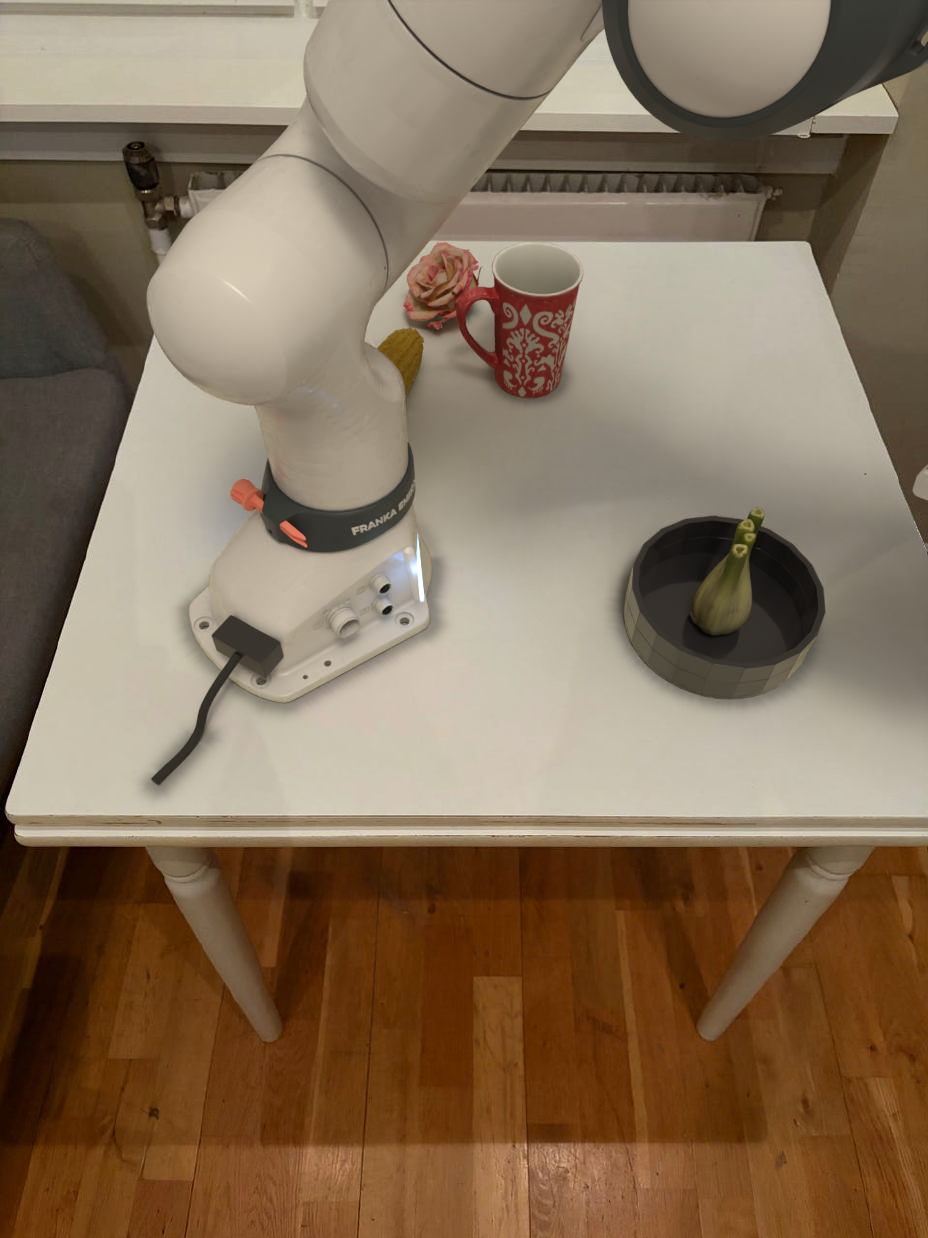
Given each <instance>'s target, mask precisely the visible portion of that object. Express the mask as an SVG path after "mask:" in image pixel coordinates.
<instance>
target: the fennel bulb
mask: <svg viewBox="0 0 928 1238" xmlns="http://www.w3.org/2000/svg"><path fill="white" fill-rule="evenodd" d="M765 518H766V512H765V510H764V509H763V508H762V507H760V506H756V507H754V508H752V509H751V510H750V511H749V513H748V515H747V519H746V518H745V519H743V520H744V521H742V522H741V523H740V524H738V526H737V529H736V533H735V537H734V540H733V544H732V547H731V550H730V553H729V554H728V555H727V556H726V557H725V558H724V559H723V560H722V561H721V562H720V563H719V564H718V565H717V566H716V567H715V568H714V569H713V570H712V571H711V573H710V574H709V575H708V576H707V577H706V579H705V580H704V581H703V582H702V584H701V585H700V587H699V588H698V590H697V591H696V594H695V596H694V598H693V602H692V603H691V606H690V616H691V619H692V621H693V622H694V623H695V624H696V625H697V626H698V627H699V628H700V629H701V630H702V631H703V632H704V633H707V634H709V635H712V636H717V635H721V634H722V635H726V634H730V633H732V632H735V631H737V630H738V629H740V628H741V627H742V626H743V625H744V623H745V622H746V621H747V619H748V617H749V615H750V611H751V605H752V590H751V581H750V572H749V556H750V552H751V549H752V547H753V544H754V542H755V540H756V536H757V534H758V531H759V529H760V527H761V526H762V525H763V522H764V520H765Z"/></svg>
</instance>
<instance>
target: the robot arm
mask: <svg viewBox="0 0 928 1238" xmlns="http://www.w3.org/2000/svg"><path fill="white" fill-rule="evenodd" d="M603 31H604V34H605V39H606V42H607V46H608V50H609V52H610V55H611V58H612V62H613V63H614V66H615V68H616V70H617V72H618V74H619V76H620V78H621V80H622V82H623V83H624V85H625V86H626V88H627V89H628V91H629V92H630V93H631V95H632V96H633V98H634V99H635V100H636V101H637V102H638V103H639V104H640V105H641V106H642V108H644V110H645V111H646V112H648V113H649V114H650V115H651V116H652V117H653V118H655V119H656V120H657V121H659V122H660V123H661V124H663V125H665V126H667V127H668V128H670V129H672V130H674V131H676V132H678V133H680V134H683V135H685V136H687V137H691V138H695V139H698V140H702V141H706V142H715V143H738V142H739V143H740V142H746V141H751V140H753V141H754V140H756V139H761V138H764V137H768V136H771V135H774V134H777V133H780V132H782V131H785V130H787V129H790V128H792V127H794V126H797V125H799V124H801V123H803V122H806V121H808V120H810V119H812V118H814V117H816V116H817V115H819V114H822V113H823V112H825V111H827V110H829V109H830V108H832V107H834V106H836V105H838V104H839V103H841V102H842V101H844V100H847V99H848V98H851V97H852V96H855V95H857V94H859V93H862V92H863V91H866V90H869V89H872V88H874V87H876V86H877V87H878V86H879V85H881V84H884V83H887V82H889V81H891V80H892V81H893V80H894V79H896V78H897V79H898V78H899V77H902V76H904V75H907V74H909V73H912V72H914V71H916V70H918V69H920V68H923V67H924V66H926V65H928V41H927V42H925V44H924V45H923V44H922V40H923V38H924V37H925V35H926V34H927V32H928V0H328V1H327V3H326V5H325V6H324V9H323V11H322V13H321V15H320V17H319V19H318V21H317V23H316V25H315V27H314V28H313V30H312V33H311V35H310V36H309V39H308V40H307V43H306V46H305V50H304V54H303V63H302V72H303V73H302V74H303V75H302V76H303V83H304V88H305V93H306V94H305V97H304V100H303V101H302V104H301V106H300V108H299V110H298V111H297V113H296V115H295V117H294V118H293V119H292V121H291V122H290V123H289V124H288V126H287V127H286V129H285V130H284V131H283V132H282V133H281V134H280V135H279V137H278V138H277V139H275V141H274V142H273V143H272V144H271V145H270V146H269V148H267V150H266V151H264V152H263V154H262V155H261V156H260V157H259V158H257V160H256V161H254V162H253V163H252V164H251V165H250V166H249V167H248V168H247V169H246V170H245V171H244V172H243V173H242V174H241V175H240V176H238V177H237V178H236V179H235V180H234V181H233V182H231V184H229V185H228V186H227V187H226V188H224V189H223V191H222V192H220V193H219V194H218V195H217V196H216V197H214V198H213V199H212V200H211V201H210V202H209V203H207V204H206V205H205V206H204V207H203V208H202V209H201V210H199V211H198V212H197V213H196V214H194V216H193V217H192V218H191V219H190V220H188V221H187V223H186V224H185V226H184V227H183V228H182V230H181V231H180V233H179V234H178V235H177V237H176V238H175V240H174V242H173V243H172V245H171V246H170V247H169V249H168V251H167V252H166V254H165V255H164V257H163V259H162V260H161V262H160V263H159V266H158V267H157V269H156V271H155V272H154V274H153V275H152V277H151V279H150V280H149V283H148V286H147V290H146V309H147V314H148V319H149V323H150V326H151V328H152V329H151V330H152V331H153V335H154V337H155V339H156V341H157V343H158V345H159V347H160V349H161V350H162V353H164V355H165V357H166V358H167V360H168V361H169V362H170V363H171V365H172V366H173V367H174V368H175V370H176V371H178V373H179V374H181V376H183V378H185V379H186V380H187V381H188V382H190V383H191V384H192V385H193V386H195V387H197V388H198V389H199V390H201V391H202V392H204V393H206V394H208V395H210V396H211V397H214V398H216V399H219V400H221V401H225V402H228V403H232V404H236V405H242V406H251V407H252V406H253V408H254V411H255V412H256V415H257V418H258V423H259V426H260V431H261V434H262V438H263V441H264V447H265V450H266V454H267V459H266V464H265V467H264V471H263V477H262V482H261V488H260V489H259V488H257V487H256V486H255V485H254V484H253V482H252V481H251V480H249V479H247V478H241V479H239V480H237V481H236V482H234V484H233V485H232V486H231V488H230V491H229V493H230V495H229V496H230V497H231V499H232V500H233V501H234V502H235V503H237V504H239V505H241V506H242V508H243V509H244V511H246V512H250V513H249V514H248V516H247V517H246V518H245V520H244V521H243V522H242V524H241V525H240V527H239V528H238V529H237V530H236V532H235V533H234V535H233V536H232V537H231V539H229V541H228V542H227V544H226V545H225V546H224V548H223V549H222V551H221V552H220V554H218V556H217V557H216V559H215V560H214V561H213V563H212V565H211V567H210V570H209V571H210V572H209V579H208V580H209V581H208V585H207V586H206V587H205V589H204V588H203V590H202V591H201V592H200V593H199V594H198V595H197V596H196V597H195V598H194V599H193V600H192V601H191V602H190V604H189V607H188V615H189V623H190V627H191V630H192V633H193V635H194V637H195V640H196V642H197V644H198V645H199V646H200V648H201V650H202V651H203V652H204V653H205V655H206V656H207V658H208V659H209V660H211V662H212V663H213V664H214V665H215V666H216V667H217V668H218V669H219V670H220V672H219V674H218V675H217V676H216V678H215V679H214V681H213V682H212V684H211V685H210V687H209V688H208V690H207V692H206V694H205V696H204V698H203V699H202V701H201V704H200V706H199V709H198V713H197V716H196V723H195V726H194V729H193V732H192V734H191V735H190V737H189V738H188V740H187V741H186V742H185V744H184V745H183V747H182V748H181V749H179V751H178V752H177V753H176V754H175V755H174V756H173V757H172V758H171V759H170V760H169V761H168V762H167V763H165V764H164V765H163V766H162V767H161V768H160V769H159V770H158V771H157V772H156V773H155V774H154V775H153V776H152V777H151V778H150V780H151V781H152V782H153V783H154V784H155V785H157V786H158V785H160V784H161V783H162V782H163V780H165V778H166V777H168V776H169V775H170V774H171V773H172V772H173V771H174V770H176V769H177V767H178V766H179V765H180V764H181V763H183V761H185V760H186V758H187V757H188V756H189V755H190V754H191V753H192V751H193V750H194V749H195V747H196V746H197V745H198V743H199V742H200V740H201V738H202V736H203V734H204V731H205V727H206V722H207V718H208V713H209V711H210V709H211V706H212V705H213V702H214V700H215V698H216V697H217V695H218V694H219V691H220V690H221V689H222V687H223V686H224V684H225V682H226V681H227V680H228V679H230V680H231V681H232V682H234V683H235V684H236V685H238V686H239V687H240V688H242V689H244V690H245V691H247V692H249V693H251V694H252V695H255V696H257V697H258V698H259V697H260V698H262V699H265V700H267V701H272V702H276V703H282V704H285V703H287V704H288V703H290V702H292V701H295V700H297V699H298V698H300V697H302V696H304V695H306V694H308V693H309V692H311V691H314V690H316V689H317V688H319V687H321V686H322V685H325V684H327V683H328V682H330V681H332V680H334V679H336V678H337V677H339V676H342V675H343V674H345V673H347V672H349V671H351V670H353V669H355V668H356V667H358V666H359V665H361V664H363V663H365V662H367V661H369V660H371V659H372V658H374V657H376V656H378V655H380V654H382V653H384V652H385V651H387V650H389V649H391V648H393V647H395V646H397V645H399V644H400V643H402V642H405V641H407V640H408V639H410V638H412V637H413V636H416V635H417V634H419V633H421V632H423V631H424V630H426V629H427V628H428V627H429V625H430V622H431V612H430V608H429V604H428V599H427V596H428V591H429V588H430V584H431V580H432V574H433V573H432V572H433V561H432V558H431V553H430V551H429V548H428V546H427V544H426V542H425V540H424V539H423V536H422V534H421V532H420V531H421V530H420V528H419V525H418V522H417V516H416V513H415V508H414V500H415V496H416V484H417V482H416V472H415V461H414V453H413V449H412V447H411V445H410V442H409V440H408V425H407V423H408V422H407V421H408V420H407V403H406V397H405V386H404V382H403V379H402V376H401V374H400V372H399V370H398V368H397V367H396V366H395V364H394V363H393V362H392V361H391V360H390V359H389V358H387V357H386V356H385V355H384V354H383V353H382V352H380V351H379V350H378V349H377V347H376V346H374V345H373V344H370V343H369V342H368V341H366V334H367V329H368V325H369V322H370V320H371V316H372V314H373V311H374V309H375V307H376V305H377V304H378V303H379V302H380V301H381V300H382V298H384V296H385V295H386V294H387V292H388V291H389V290H390V289H391V288H392V286H393V285H394V284H395V283H396V282H397V281H398V279H400V278H401V276H402V275H403V273H405V271H406V270H407V269H408V268H409V267H410V265H412V263H413V262H414V261H415V260H416V258H417V257H418V256H419V255H420V254H421V252H422V251H423V250H424V249H425V247H426V246H427V245H428V244H429V243H430V242H431V240H432V239H433V237H434V236H435V235H436V234H437V233H438V232H439V230H440V229H441V227H442V226H443V225H444V224H445V223H446V221H447V220H448V219H449V218H450V216H451V215H452V214H453V213H454V211H456V209H457V208H458V206H459V205H460V204H461V202H463V200H464V199H465V197H466V196H467V195H468V194H469V192H470V191H471V190H472V189H473V187H474V186H475V185H476V184H477V183H478V181H480V179H481V178H482V177H483V176H484V174H485V173H486V172H487V170H489V168H490V167H491V166H492V165H493V163H494V162H495V161H496V159H497V158H498V157H499V156H500V155H501V153H502V152H503V151H504V150H505V148H507V146H508V145H509V144H510V142H511V141H512V140H513V139H514V138H515V137H516V135H517V134H518V133H519V132H520V130H521V129H522V128H523V127H524V126H525V125H526V123H527V122H528V121H529V119H530V118H531V117H532V116H533V114H534V113H535V112H536V111H537V109H539V107H540V106H542V104H543V102H545V100H546V99H547V97H548V96H549V95H550V94H551V93H552V92H553V90H554V89H555V88H556V87H557V85H558V84H559V83H560V82H561V80H563V78H564V77H565V75H566V74H567V73H568V71H570V70H571V68H572V67H573V65H574V64H575V63H576V62H577V60H578V59H579V58H580V57H581V56H582V54H583V53H584V52H585V51H586V50H587V48H588V47H589V46H590V45H591V43H592V42H593V41H594V40H595V39H596V37H598V35H600V34H601V33H602V32H603ZM912 493H913V495H914V496H915V497H917V498H920V499H922V500H924V501H927V502H928V463H927V464H926V465H925V466H924V467H923V468H922V469H921V470H920V472H919V473H918V474H917V475H916V477H915V481H914V483H913V486H912ZM403 623H407V624H403ZM204 627H207V628H204ZM261 682H265V683H263V684H259V683H261Z"/></svg>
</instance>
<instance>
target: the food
mask: <svg viewBox="0 0 928 1238" xmlns="http://www.w3.org/2000/svg"><path fill="white" fill-rule="evenodd" d="M424 342H425V339H424V337H423V336H422V335H421V334H420V332H419V330H417V329H415V328H414V329H413V328H411V327H407V328H401V329H396V330H394V331H393V332H392V333H390V334H389V335H388V336H387V337H386V338H385V339H384V340H383V341H382V342H381V343H380V344H379V345H378V347H376V349H378V350H379V351H380V352H382V353H383V354H384V355H385V356H386V357H387V358H389V359H390V360H391V361H392V362H393V363H394V364H395V366H396V367H397V368H398V370H399V372H400V374H401V376H402V379H403V382H404V386H405V398H406V396H407V395H408V393H409V392H410V390H411V387H412V384H413V383H414V381H415V379H416V376H417V374H418V371H419V370H420V367H421V364H422V357H423V350H424V349H425V348H424Z"/></svg>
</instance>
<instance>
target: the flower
mask: <svg viewBox="0 0 928 1238" xmlns="http://www.w3.org/2000/svg"><path fill="white" fill-rule="evenodd" d="M478 263H479V261H478V260H476V257H475V256H474V255H473V253H472V252H471V251H470V249H464V248H461V247H457V246H455V245H452V244H450V243H448V242H445V241H444V242H436V244H435V245H434V246H433V248H432V249H431V250H430V252H429V253H428V254H425V255H423V256H421V257H420V259H419V262H418V263H416V264H415V265H413V266H412V267H411V268H410V270H409V271H408V273H407V275H406V283H407V285H408V287H409V290H408V293H407V295H406V299H405V301H404V303H403V305H402V307H403V308H405V309H406V310H404V311H405V314H406V315H407V316H408V318H409V320H413V321H419V322H425V321H429V320H432V319H434V318H435V317H436V316H440V317H441V320H439V321H438V320H437V321H435V320H434V321H430V323H428V324H427V325H426V327H427V329H432V330H434V329H436V330H440V329H443V324H444V323H445V322H448V321H449V320H451V319H453V318H456V308H457V303H458V301H459V298H460V297H461V295H462V294H463V293H464V292H466V291H467V290H469V289H471V288H473V287H479V285H480V281H479V279H480V274H481V270H482V267H480V266H479V264H478ZM474 271H478V272H477V273H478V276H477V277H476V275H475V272H474ZM473 308H474V306H473V304H472V305H471V306H470V307H469V309H468V311H467V312H469V311H472V310H473Z"/></svg>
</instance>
